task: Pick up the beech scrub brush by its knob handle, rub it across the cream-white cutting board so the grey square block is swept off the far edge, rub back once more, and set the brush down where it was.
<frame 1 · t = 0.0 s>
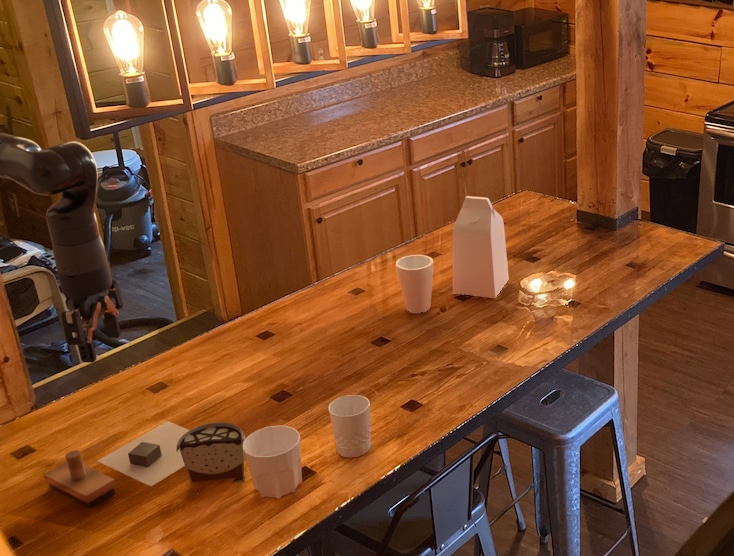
hand: (102, 349, 163), 31 cm above the table, tool pointing down, fingers open, 8 cm apart
cake slice: (221, 474, 181), on the table
milk: (481, 288, 258), on the table
brush: (83, 494, 175), on the table
cutting board: (160, 456, 187), on the table
cup: (278, 485, 178), on the table
grey square block: (146, 459, 184), point 1 cm above the table, touching cutting board
white cup: (354, 449, 189), on the table
foam cup: (418, 308, 246), on the table
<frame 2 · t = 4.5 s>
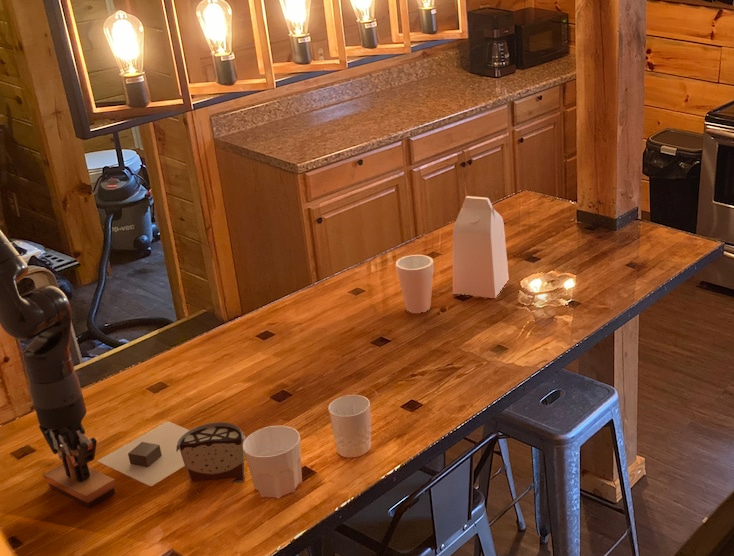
hand: (78, 476, 174), 4 cm above the table, tool pointing down, fingers closed on brush, 2 cm apart
brush: (83, 494, 175), on the table, touching gripper
everything else where it was.
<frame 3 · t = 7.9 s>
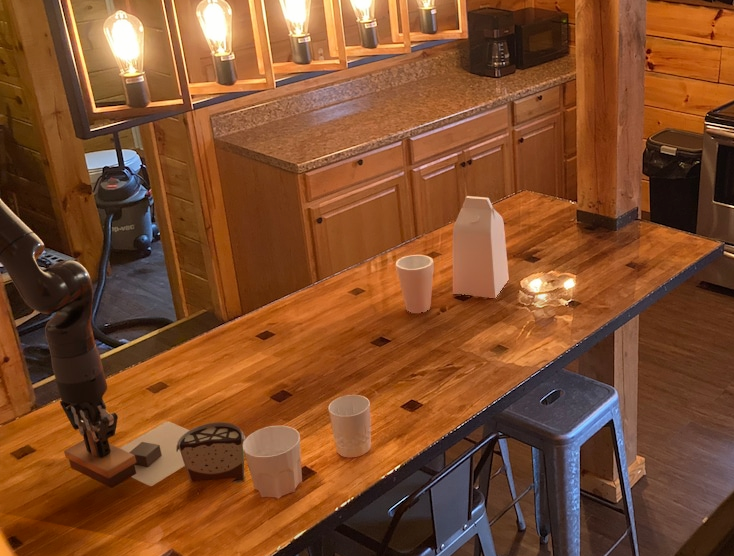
hand: (99, 452, 174), 8 cm above the table, tool pointing down, fingers closed on brush, 2 cm apart
brush: (103, 470, 176), point 4 cm above the table, touching gripper
everything else where it was.
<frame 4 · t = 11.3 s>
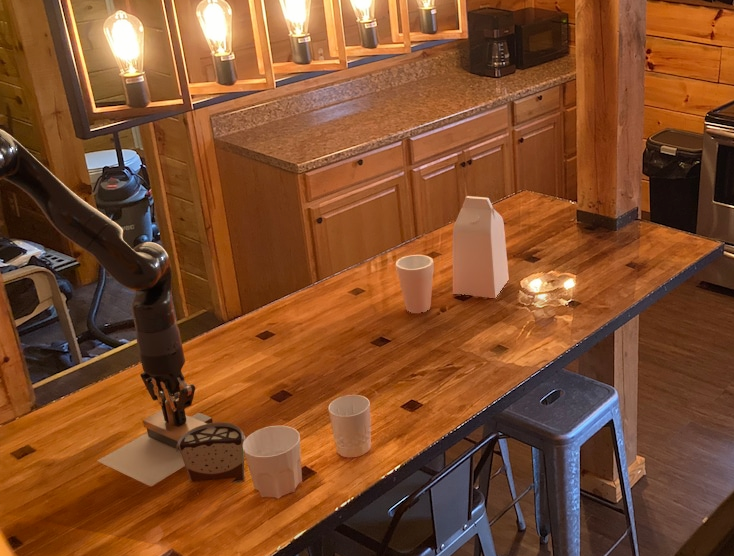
hand: (175, 421, 188), 5 cm above the table, tool pointing down, fingers closed on brush, 2 cm apart
brush: (179, 439, 189), point 1 cm above the table, touching grey square block, gripper
grey square block: (199, 430, 193), point 1 cm above the table, touching brush
everything else where it was.
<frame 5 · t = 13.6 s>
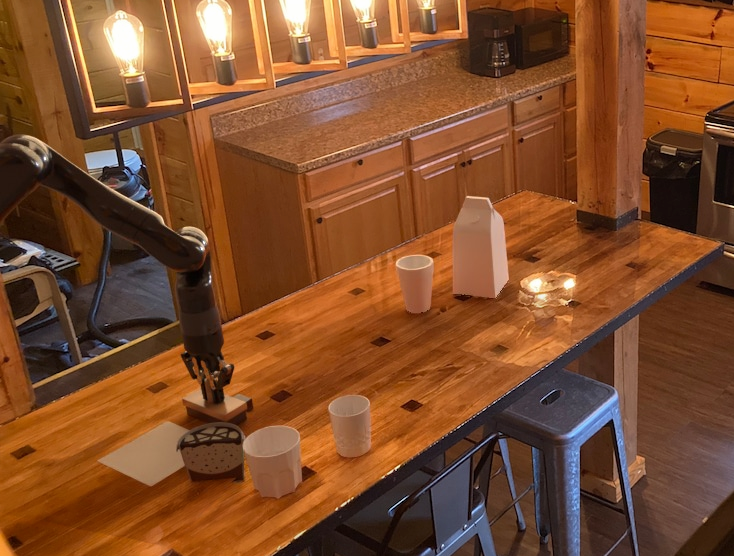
hand: (214, 399, 196), 5 cm above the table, tool pointing down, fingers closed on brush, 2 cm apart
brush: (217, 416, 197), point 1 cm above the table, touching gripper
grey square block: (239, 410, 202), on the table
everything else where it was.
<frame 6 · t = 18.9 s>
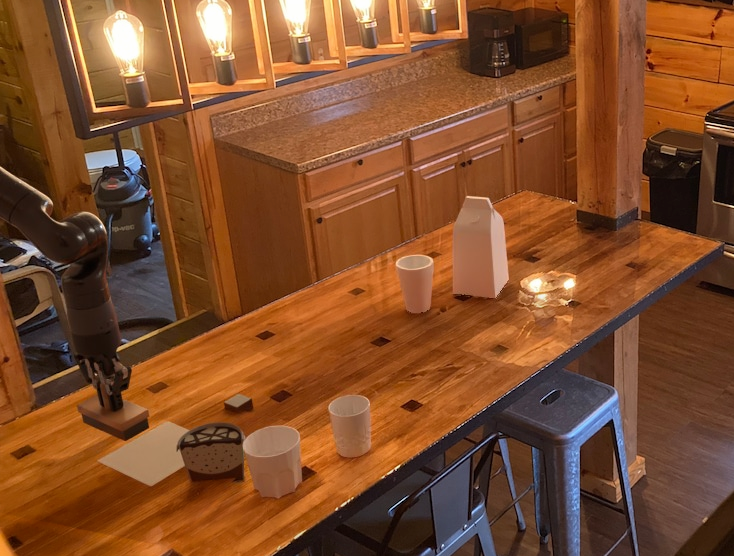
hand: (112, 406, 175), 15 cm above the table, tool pointing down, fingers closed on brush, 2 cm apart
brush: (116, 425, 176), point 11 cm above the table, touching gripper
everything else where it was.
when the fingers open (4 cm above the table, at t = 23.4 s): brush stays where it is, on the table.
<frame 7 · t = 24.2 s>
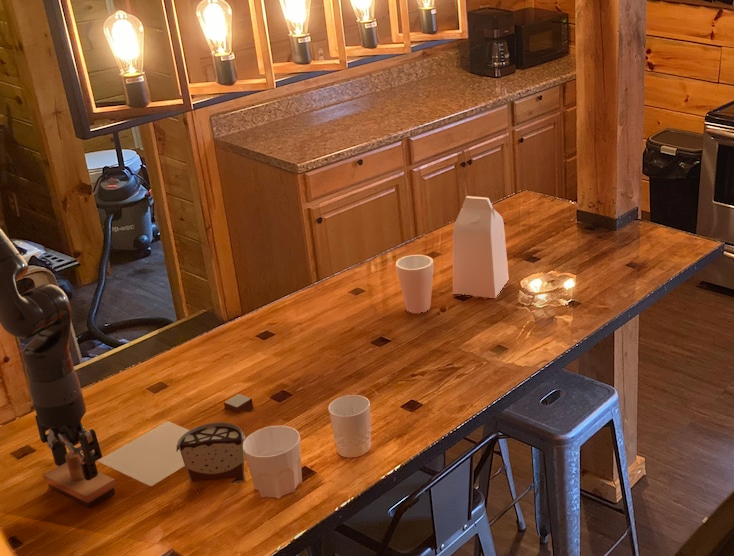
hand: (76, 470, 173), 5 cm above the table, tool pointing down, fingers open, 8 cm apart
brush: (83, 494, 175), on the table
everything else where it was.
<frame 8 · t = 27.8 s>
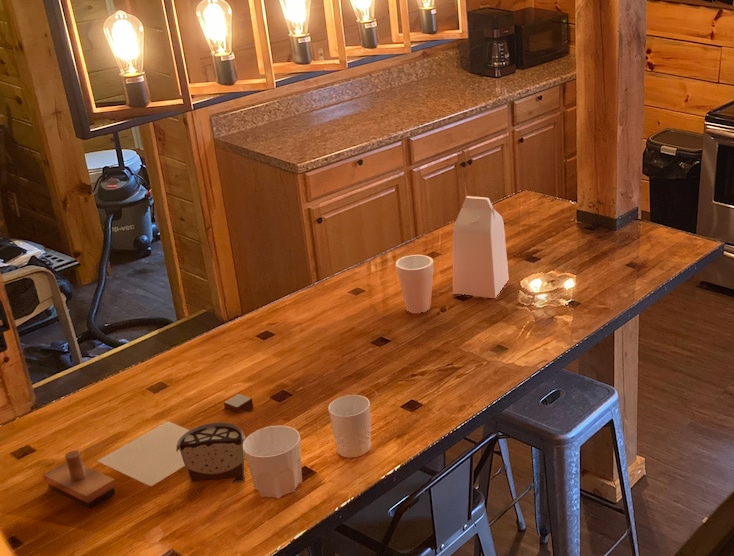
nothing on the table moved.
at the end: grey square block inside the target area (1.4 cm from its centre), on the table; the gripper is holding nothing; brush inside the target area (0.1 cm from its centre), on the table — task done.
